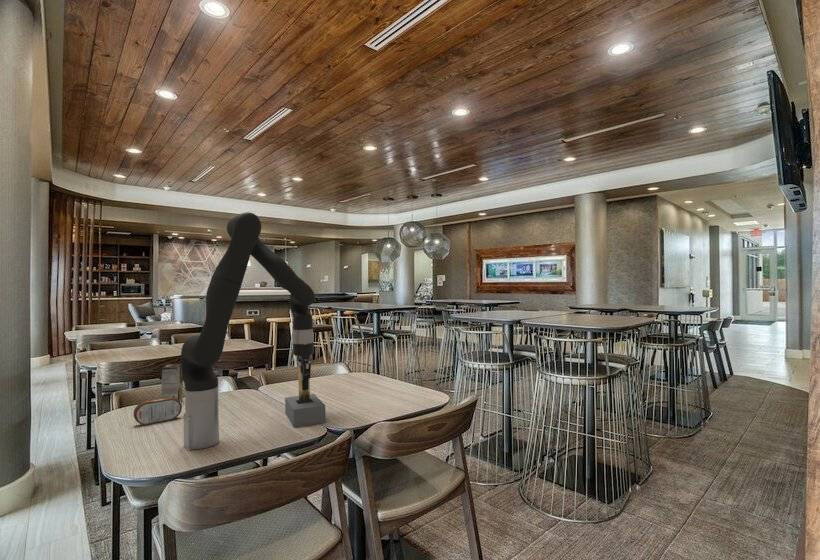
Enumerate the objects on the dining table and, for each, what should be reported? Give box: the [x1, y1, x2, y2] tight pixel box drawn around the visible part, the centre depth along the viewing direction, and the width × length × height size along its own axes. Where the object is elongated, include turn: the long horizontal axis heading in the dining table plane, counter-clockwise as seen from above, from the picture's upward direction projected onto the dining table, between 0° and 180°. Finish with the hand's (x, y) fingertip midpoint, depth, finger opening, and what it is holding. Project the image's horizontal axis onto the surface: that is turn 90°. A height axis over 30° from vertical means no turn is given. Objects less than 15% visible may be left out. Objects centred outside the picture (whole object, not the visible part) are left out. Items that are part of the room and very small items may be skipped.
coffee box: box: [160, 363, 184, 403], centre depth 176 cm, size 9×6×16 cm
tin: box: [133, 397, 183, 426], centre depth 152 cm, size 15×3×8 cm, turn 129°
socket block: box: [284, 393, 327, 428], centre depth 153 cm, size 18×11×6 cm, turn 25°
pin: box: [297, 367, 311, 401], centre depth 154 cm, size 4×4×12 cm
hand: (304, 388), depth 154 cm, fingers closed on pin, 4 cm apart
